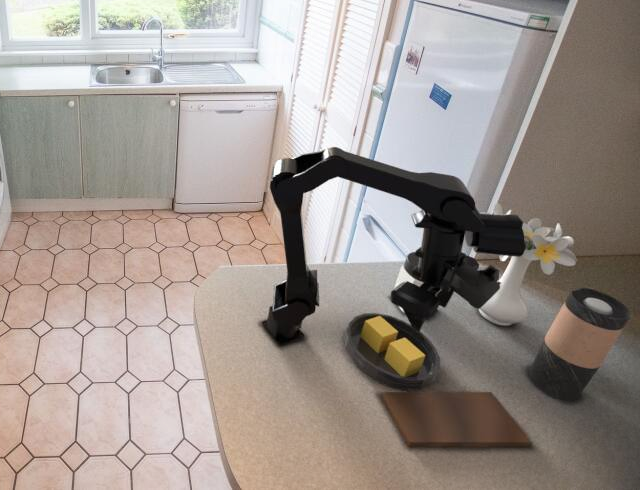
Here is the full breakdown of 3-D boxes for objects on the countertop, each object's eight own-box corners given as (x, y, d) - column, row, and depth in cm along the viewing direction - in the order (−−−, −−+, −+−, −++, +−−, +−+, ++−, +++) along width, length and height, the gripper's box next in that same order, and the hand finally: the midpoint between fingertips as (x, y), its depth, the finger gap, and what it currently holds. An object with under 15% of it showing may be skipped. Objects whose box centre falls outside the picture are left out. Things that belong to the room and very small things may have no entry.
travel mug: (585, 409, 80) (639, 326, 72) (530, 389, 84) (575, 307, 75) (575, 377, 86) (623, 297, 78) (524, 359, 90) (565, 281, 81)
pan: (391, 403, 81) (395, 391, 80) (326, 336, 95) (329, 324, 94) (455, 376, 86) (460, 364, 85) (385, 316, 100) (388, 305, 99)
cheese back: (377, 353, 91) (383, 337, 89) (360, 336, 94) (365, 320, 92) (392, 347, 92) (398, 331, 90) (374, 331, 96) (379, 315, 94)
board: (407, 446, 74) (409, 442, 74) (380, 396, 83) (381, 392, 82) (528, 446, 74) (531, 442, 74) (489, 396, 83) (491, 391, 82)
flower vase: (478, 281, 110) (515, 193, 100) (557, 341, 94) (612, 243, 83) (433, 289, 108) (466, 199, 97) (506, 352, 91) (555, 252, 81)
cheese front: (403, 378, 85) (409, 361, 84) (384, 359, 89) (389, 342, 87) (419, 372, 87) (425, 355, 85) (399, 353, 90) (405, 337, 89)
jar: (421, 324, 98) (438, 281, 93) (385, 301, 104) (398, 260, 99) (442, 307, 102) (458, 265, 97) (405, 286, 109) (419, 246, 103)
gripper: (469, 296, 67) (453, 373, 73) (522, 245, 76) (504, 317, 82) (393, 262, 76) (384, 332, 82) (448, 220, 85) (437, 286, 90)
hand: (429, 317), depth 84 cm, fingers open, 9 cm apart
